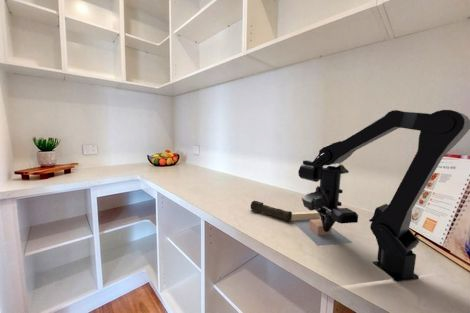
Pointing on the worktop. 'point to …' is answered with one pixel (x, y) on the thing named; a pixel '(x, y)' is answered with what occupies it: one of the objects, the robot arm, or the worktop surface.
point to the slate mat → (303, 223)
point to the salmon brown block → (318, 227)
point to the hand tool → (271, 211)
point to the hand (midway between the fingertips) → (326, 231)
